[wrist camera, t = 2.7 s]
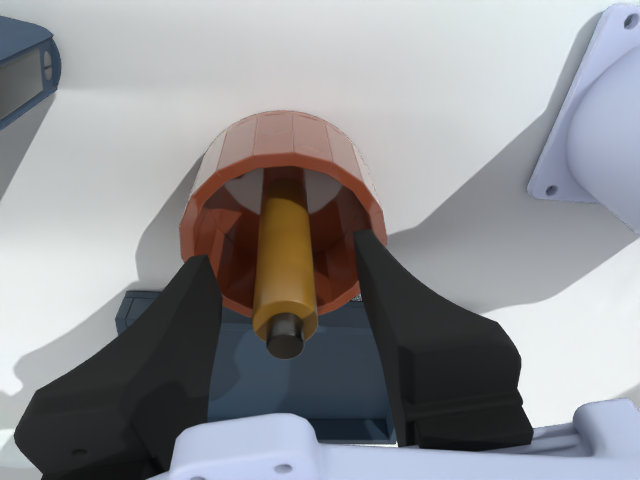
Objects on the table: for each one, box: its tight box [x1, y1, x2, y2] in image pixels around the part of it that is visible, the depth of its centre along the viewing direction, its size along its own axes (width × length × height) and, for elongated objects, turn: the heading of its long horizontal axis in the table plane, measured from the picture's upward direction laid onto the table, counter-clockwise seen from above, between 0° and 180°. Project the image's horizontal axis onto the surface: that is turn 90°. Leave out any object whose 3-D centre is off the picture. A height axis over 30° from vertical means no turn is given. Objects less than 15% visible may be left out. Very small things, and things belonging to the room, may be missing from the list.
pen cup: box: [179, 111, 387, 318], centre depth 18 cm, size 8×8×4 cm
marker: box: [252, 179, 318, 360], centre depth 16 cm, size 2×2×8 cm
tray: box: [115, 291, 397, 444], centre depth 26 cm, size 16×10×2 cm, turn 83°
